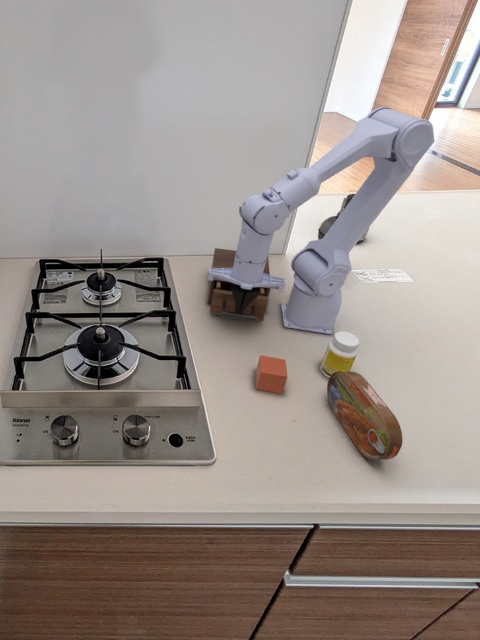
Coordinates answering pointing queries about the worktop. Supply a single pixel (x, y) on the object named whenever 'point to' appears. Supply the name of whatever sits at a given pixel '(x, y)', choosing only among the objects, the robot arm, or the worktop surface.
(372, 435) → the tin
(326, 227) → the beverage cup
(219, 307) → the drawer
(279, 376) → the block
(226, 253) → the cabinet
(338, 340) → the supplement bottle
